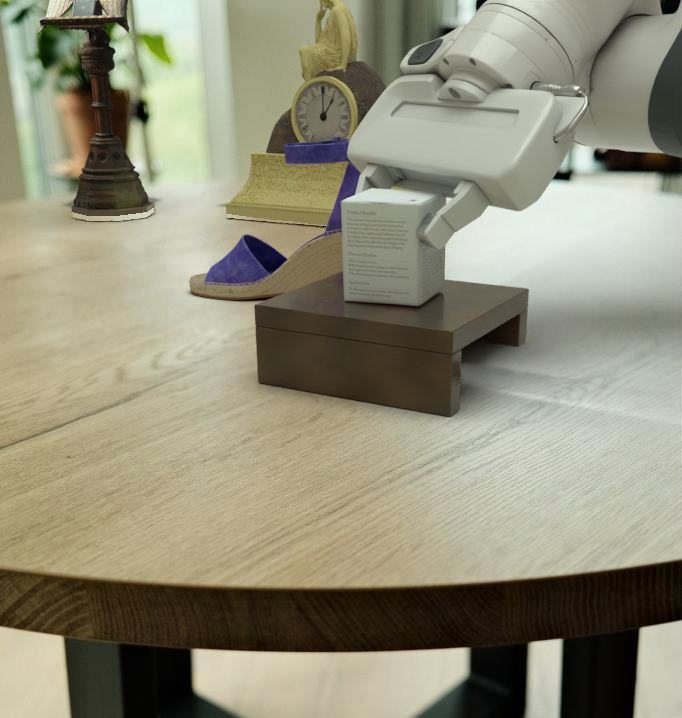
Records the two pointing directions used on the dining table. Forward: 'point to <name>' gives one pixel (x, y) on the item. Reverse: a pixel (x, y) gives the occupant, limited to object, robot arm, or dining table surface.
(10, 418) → the dining table surface
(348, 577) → the dining table surface
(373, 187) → the robot arm
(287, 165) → the decorative clock
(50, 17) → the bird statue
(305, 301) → the low wooden riser
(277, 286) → the sandal
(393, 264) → the product box
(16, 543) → the dining table surface
